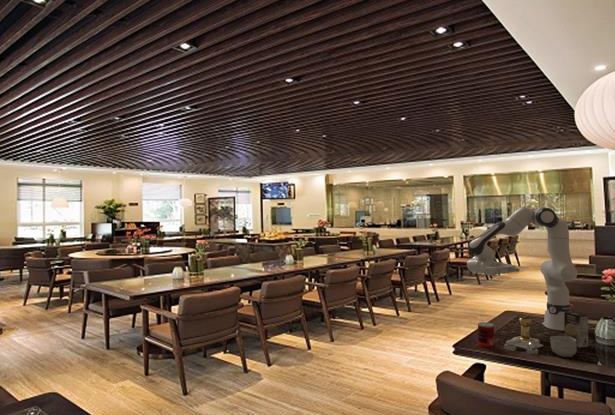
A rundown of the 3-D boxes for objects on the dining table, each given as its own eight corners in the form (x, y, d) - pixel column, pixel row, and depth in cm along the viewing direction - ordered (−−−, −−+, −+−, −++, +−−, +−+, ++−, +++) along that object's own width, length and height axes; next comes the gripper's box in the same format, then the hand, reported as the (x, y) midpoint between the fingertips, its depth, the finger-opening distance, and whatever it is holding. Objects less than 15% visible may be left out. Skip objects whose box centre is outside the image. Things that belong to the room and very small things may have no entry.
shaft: (523, 348, 213) (523, 339, 213) (533, 348, 212) (533, 339, 212) (528, 353, 205) (528, 344, 205) (538, 354, 204) (538, 345, 204)
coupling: (523, 341, 222) (523, 314, 222) (534, 344, 217) (533, 316, 217) (517, 343, 219) (516, 315, 219) (527, 346, 214) (527, 318, 214)
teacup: (566, 360, 196) (566, 342, 196) (545, 353, 206) (545, 336, 206) (586, 356, 202) (586, 339, 202) (564, 349, 211) (564, 333, 212)
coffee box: (563, 342, 222) (563, 311, 222) (573, 341, 224) (572, 310, 224) (579, 347, 213) (579, 315, 214) (589, 346, 215) (588, 314, 215)
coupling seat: (521, 340, 226) (521, 331, 226) (543, 346, 216) (543, 337, 216) (497, 346, 216) (497, 337, 216) (519, 353, 206) (519, 344, 206)
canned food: (493, 344, 220) (493, 322, 220) (494, 348, 213) (494, 326, 213) (477, 342, 223) (477, 321, 223) (478, 347, 215) (478, 325, 215)
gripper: (480, 263, 247) (502, 266, 235) (502, 261, 257) (524, 264, 245) (480, 274, 247) (502, 278, 235) (502, 272, 257) (524, 275, 245)
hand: (513, 270), depth 240 cm, fingers open, 8 cm apart
